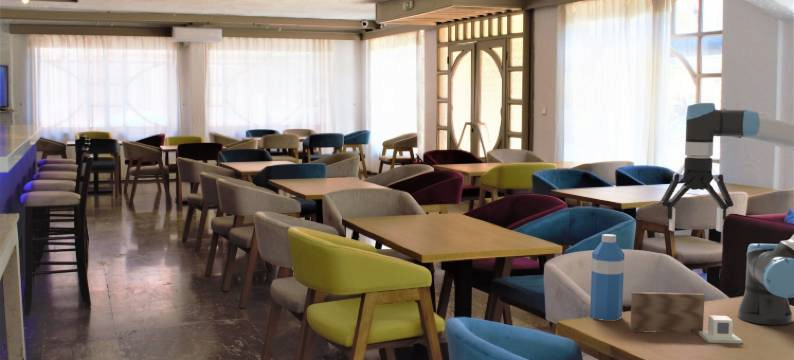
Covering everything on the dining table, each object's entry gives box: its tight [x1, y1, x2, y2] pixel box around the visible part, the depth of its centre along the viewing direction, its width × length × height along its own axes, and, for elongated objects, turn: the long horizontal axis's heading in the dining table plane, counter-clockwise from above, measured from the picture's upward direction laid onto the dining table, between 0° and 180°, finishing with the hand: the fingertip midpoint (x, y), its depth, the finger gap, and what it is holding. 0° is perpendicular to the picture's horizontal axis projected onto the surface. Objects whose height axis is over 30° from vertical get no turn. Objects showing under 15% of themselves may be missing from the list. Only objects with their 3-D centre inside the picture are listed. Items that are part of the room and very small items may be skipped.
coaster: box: [698, 330, 743, 344], centre depth 242 cm, size 9×9×1 cm
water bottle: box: [589, 233, 625, 321], centre depth 263 cm, size 9×9×25 cm
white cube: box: [707, 315, 733, 338], centre depth 242 cm, size 5×5×5 cm
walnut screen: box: [629, 291, 705, 335], centre depth 248 cm, size 20×4×11 cm, turn 88°
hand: (695, 230), depth 251 cm, fingers open, 13 cm apart
